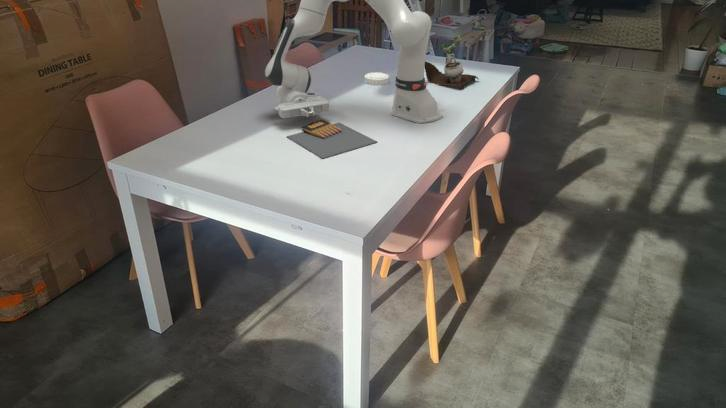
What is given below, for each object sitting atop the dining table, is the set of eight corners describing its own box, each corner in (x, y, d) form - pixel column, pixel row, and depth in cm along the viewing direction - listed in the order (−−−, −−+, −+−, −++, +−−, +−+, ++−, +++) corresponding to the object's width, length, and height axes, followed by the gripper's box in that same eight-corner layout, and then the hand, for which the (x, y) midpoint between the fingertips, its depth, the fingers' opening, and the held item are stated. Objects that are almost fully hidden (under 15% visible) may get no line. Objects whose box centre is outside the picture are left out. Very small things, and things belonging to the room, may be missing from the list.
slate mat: (377, 142, 193) (377, 141, 192) (322, 159, 180) (322, 158, 180) (339, 123, 209) (339, 122, 209) (286, 137, 196) (286, 136, 196)
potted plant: (463, 96, 247) (451, 44, 236) (428, 97, 259) (416, 48, 248) (480, 78, 260) (470, 28, 248) (447, 81, 272) (436, 33, 260)
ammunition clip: (301, 131, 200) (324, 140, 193) (301, 126, 199) (324, 136, 193) (321, 123, 207) (343, 132, 200) (321, 119, 206) (344, 128, 199)
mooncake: (388, 78, 263) (388, 71, 261) (389, 86, 253) (389, 78, 251) (364, 78, 263) (364, 71, 261) (364, 85, 252) (364, 78, 251)
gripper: (272, 99, 205) (284, 110, 195) (320, 92, 213) (334, 102, 203) (273, 115, 208) (285, 126, 198) (320, 107, 217) (335, 118, 206)
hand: (311, 114), depth 200 cm, fingers closed
